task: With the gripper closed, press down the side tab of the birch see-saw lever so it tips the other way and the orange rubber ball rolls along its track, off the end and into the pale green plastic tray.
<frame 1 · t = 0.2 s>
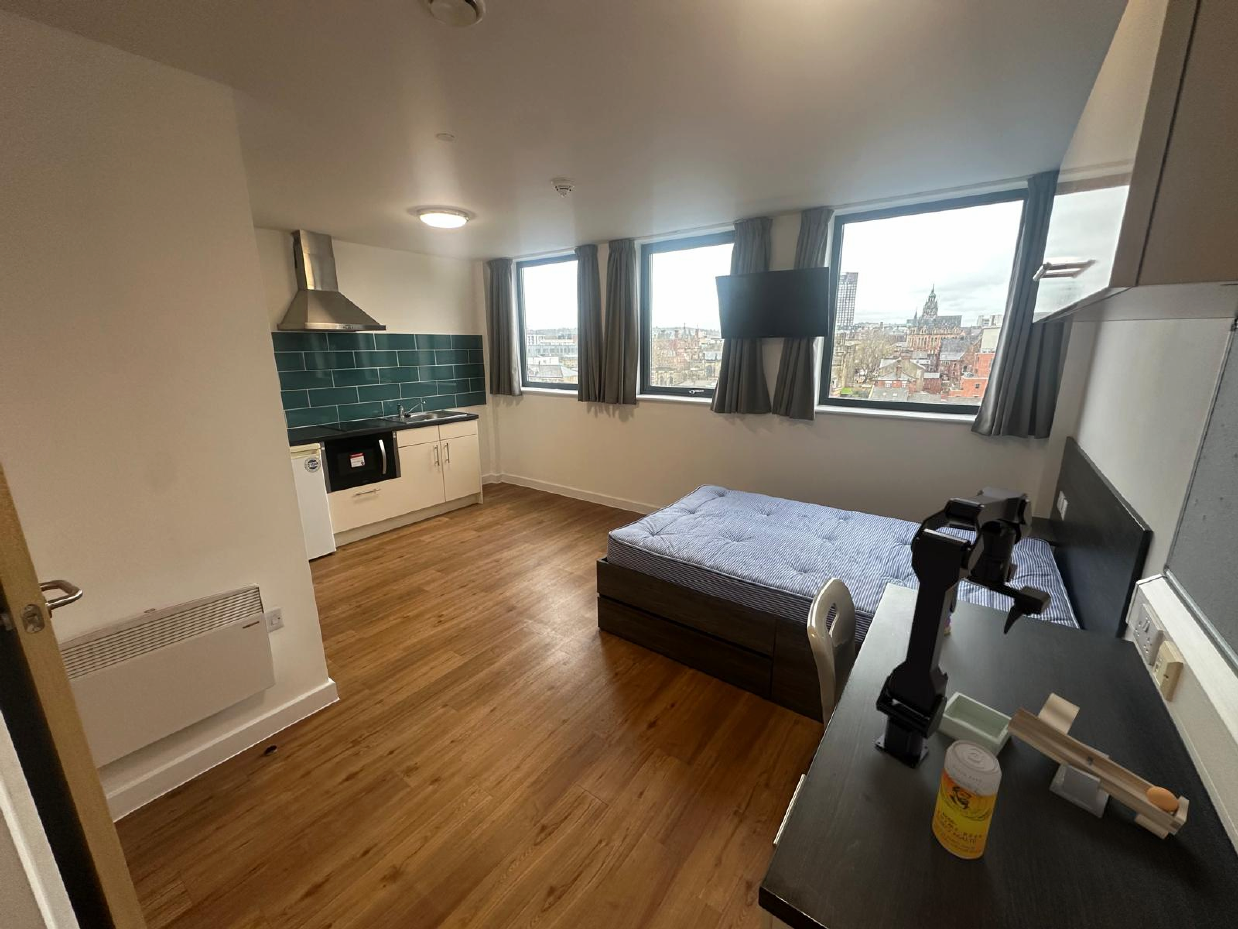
hand: (978, 622, 97), 14 cm above the table, fingers open, 9 cm apart
silver support block: (1080, 789, 77), on the table
stacking toy: (931, 627, 120), on the table
tray: (972, 732, 88), on the table
lever: (1094, 747, 79), point 5 cm above the table, hinge at 9.0°, touching ball
ball: (1162, 799, 69), point 5 cm above the table, tilted 24°, touching lever
beer can: (956, 842, 69), on the table
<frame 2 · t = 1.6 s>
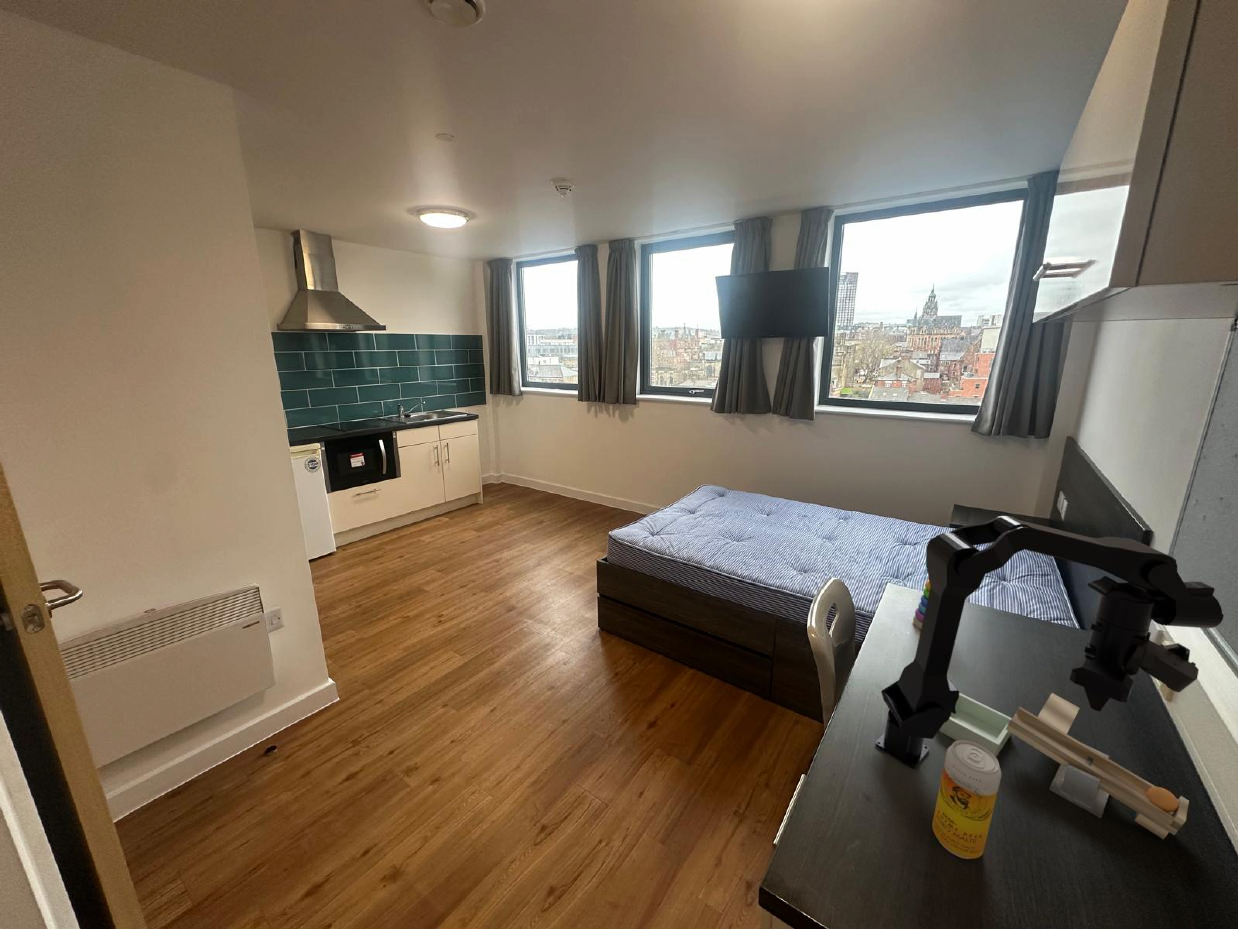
hand: (1097, 705, 78), 12 cm above the table, fingers open, 3 cm apart
nothing on the table moved.
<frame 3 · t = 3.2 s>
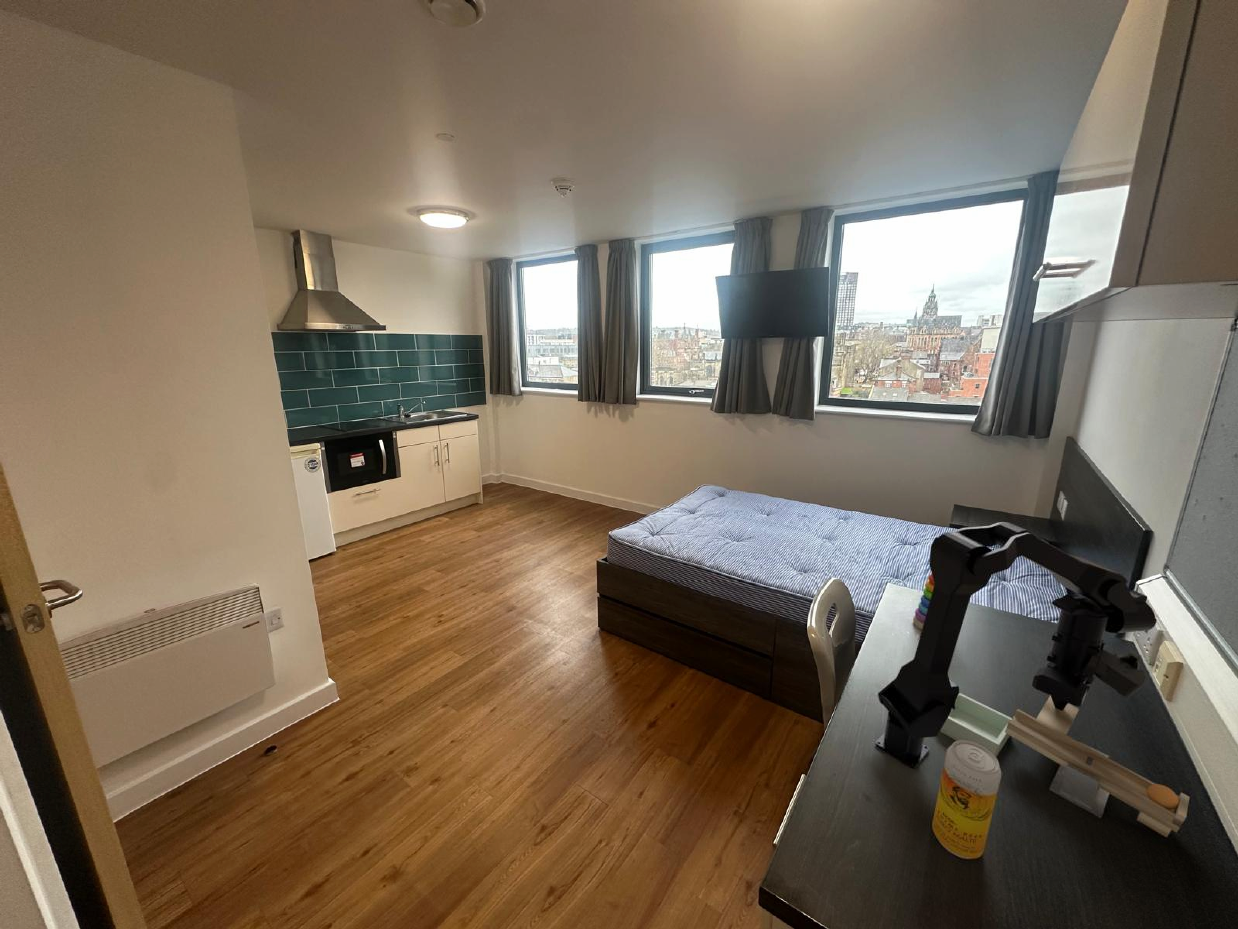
hand: (1059, 708, 86), 6 cm above the table, fingers closed, pressing on lever
lever: (1094, 747, 79), point 5 cm above the table, hinge at 5.6°, touching ball, gripper
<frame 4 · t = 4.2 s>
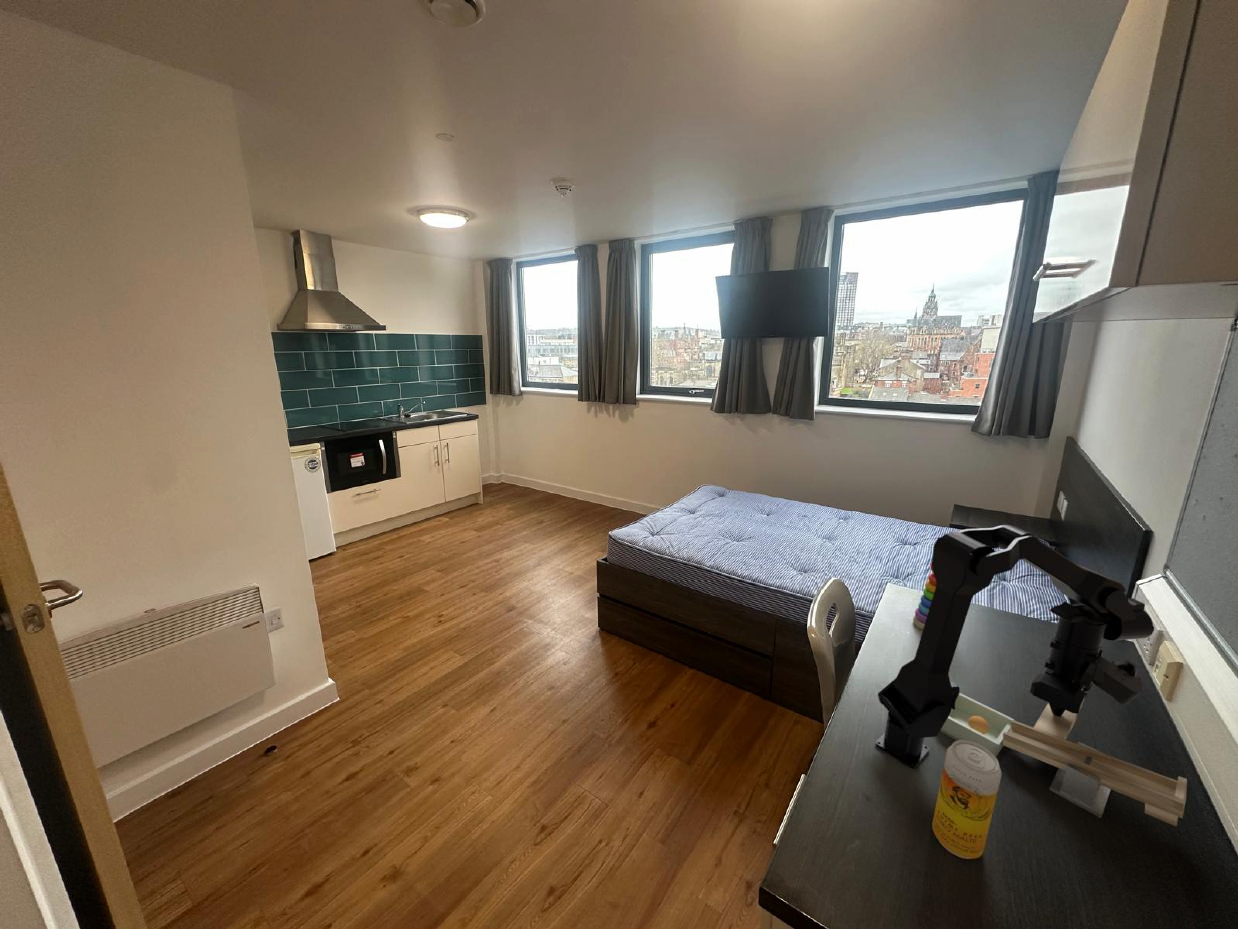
hand: (1056, 715, 87), 4 cm above the table, fingers closed, pressing on lever
lever: (1094, 747, 79), point 5 cm above the table, hinge at -9.1°, touching gripper
ball: (978, 725, 87), point 2 cm above the table, tilted 102°
everything else where it was.
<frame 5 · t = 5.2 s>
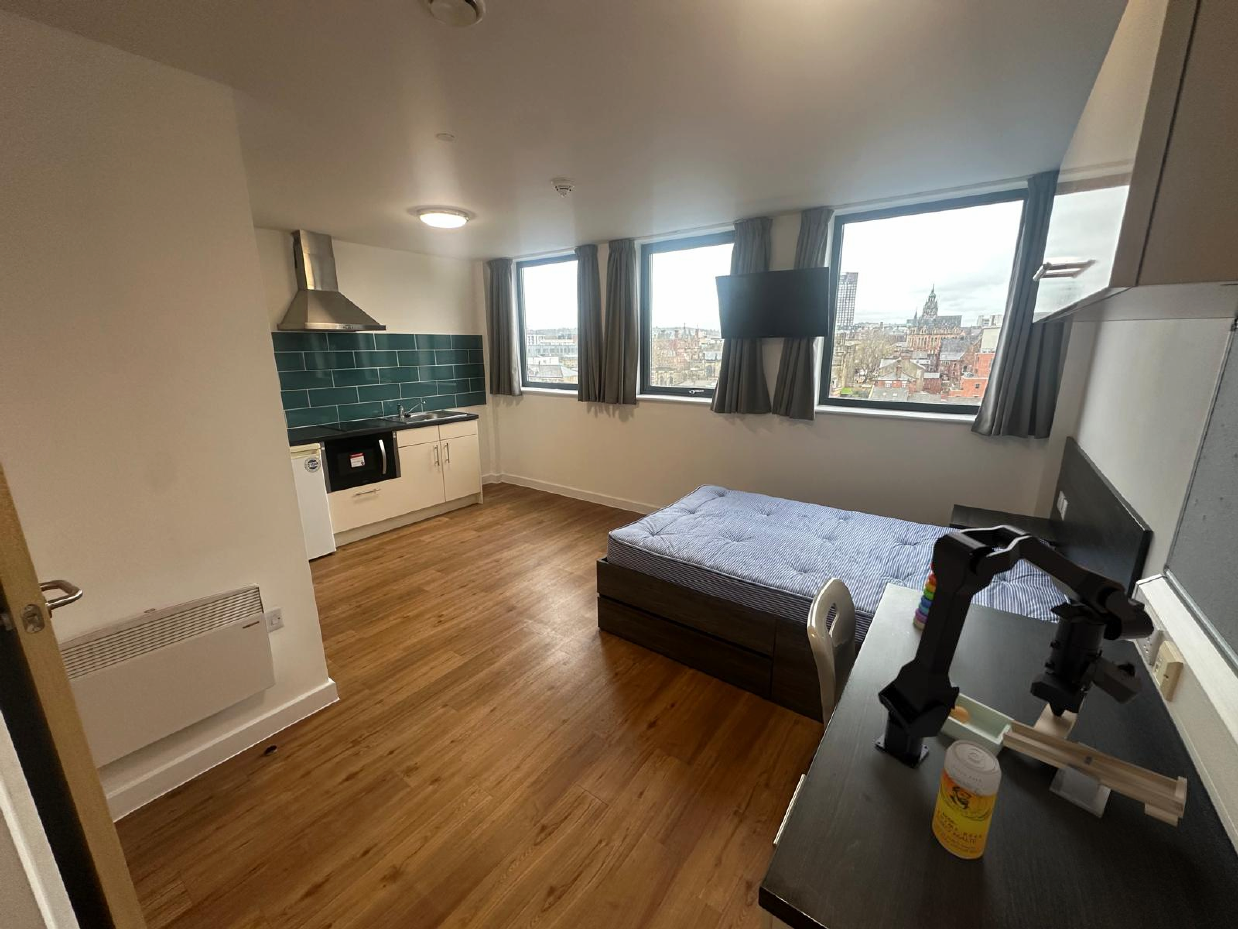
hand: (1056, 715, 87), 4 cm above the table, fingers closed, pressing on lever
lever: (1094, 747, 79), point 5 cm above the table, hinge at -9.2°, touching gripper
ball: (959, 715, 89), point 2 cm above the table, tilted 118°, touching tray
everything else where it was.
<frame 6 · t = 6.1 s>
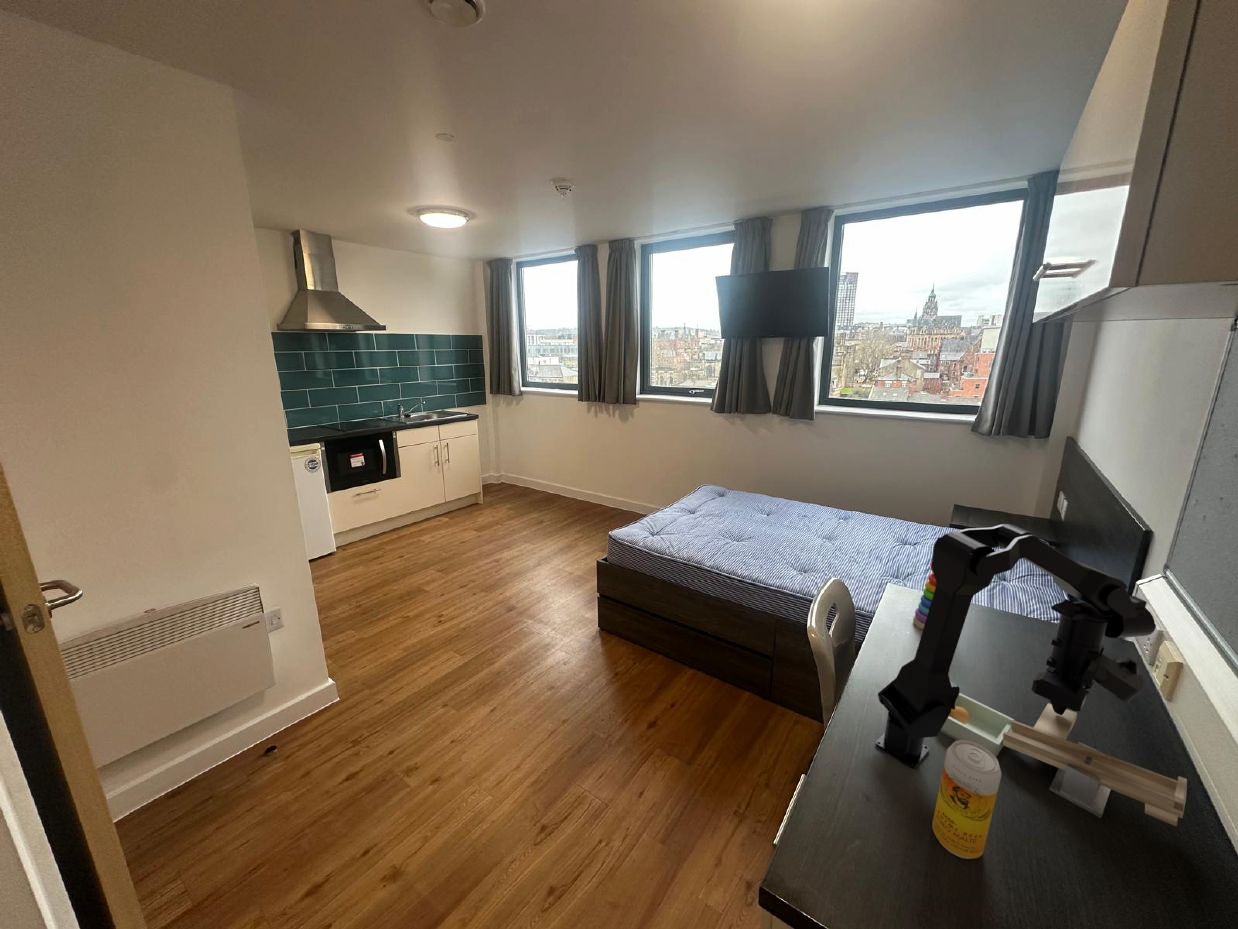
hand: (1058, 713, 86), 5 cm above the table, fingers closed
lever: (1094, 747, 79), point 5 cm above the table, hinge at -9.2°
everything else where it was.
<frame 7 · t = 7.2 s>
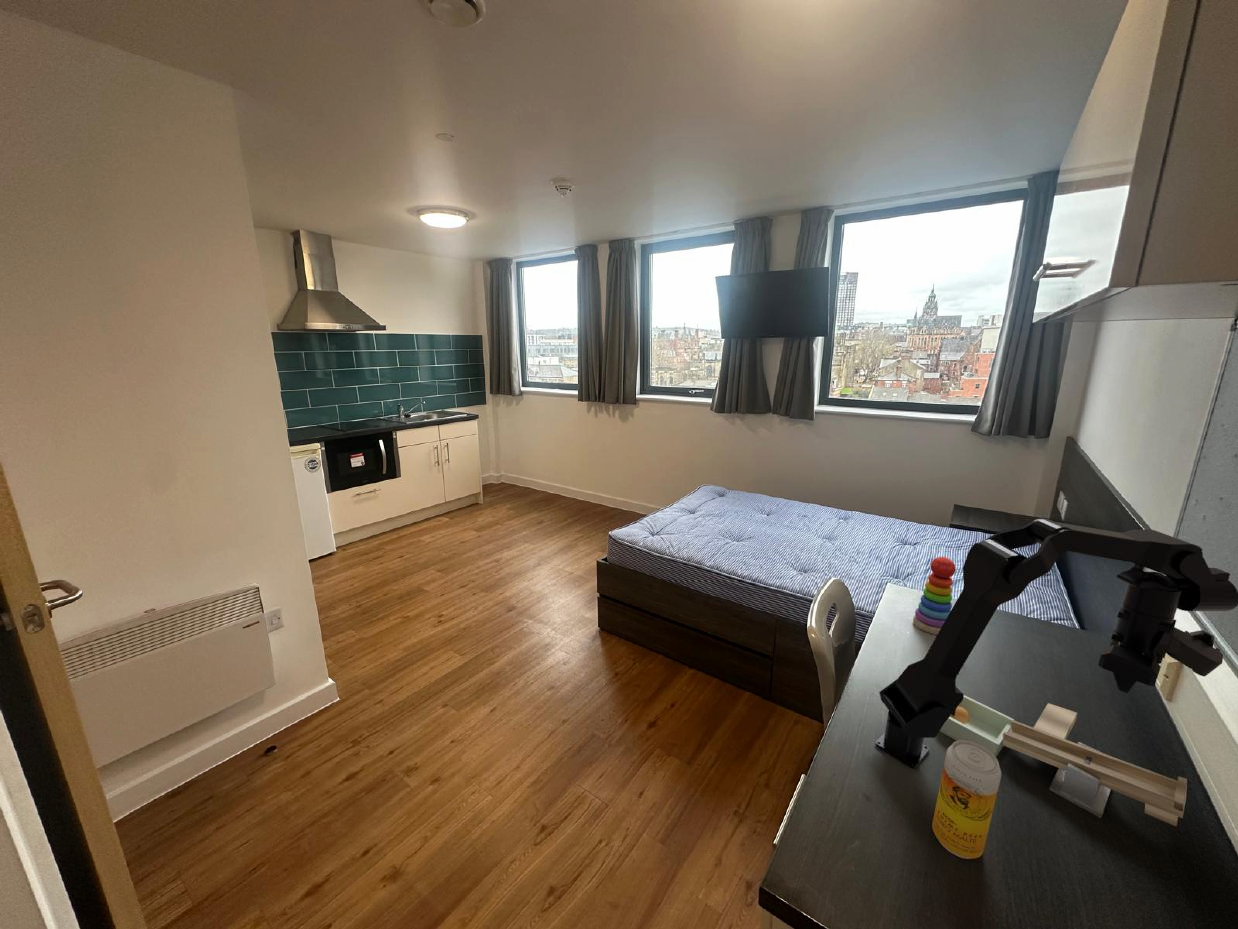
hand: (1123, 691, 81), 12 cm above the table, fingers closed
nothing on the table moved.
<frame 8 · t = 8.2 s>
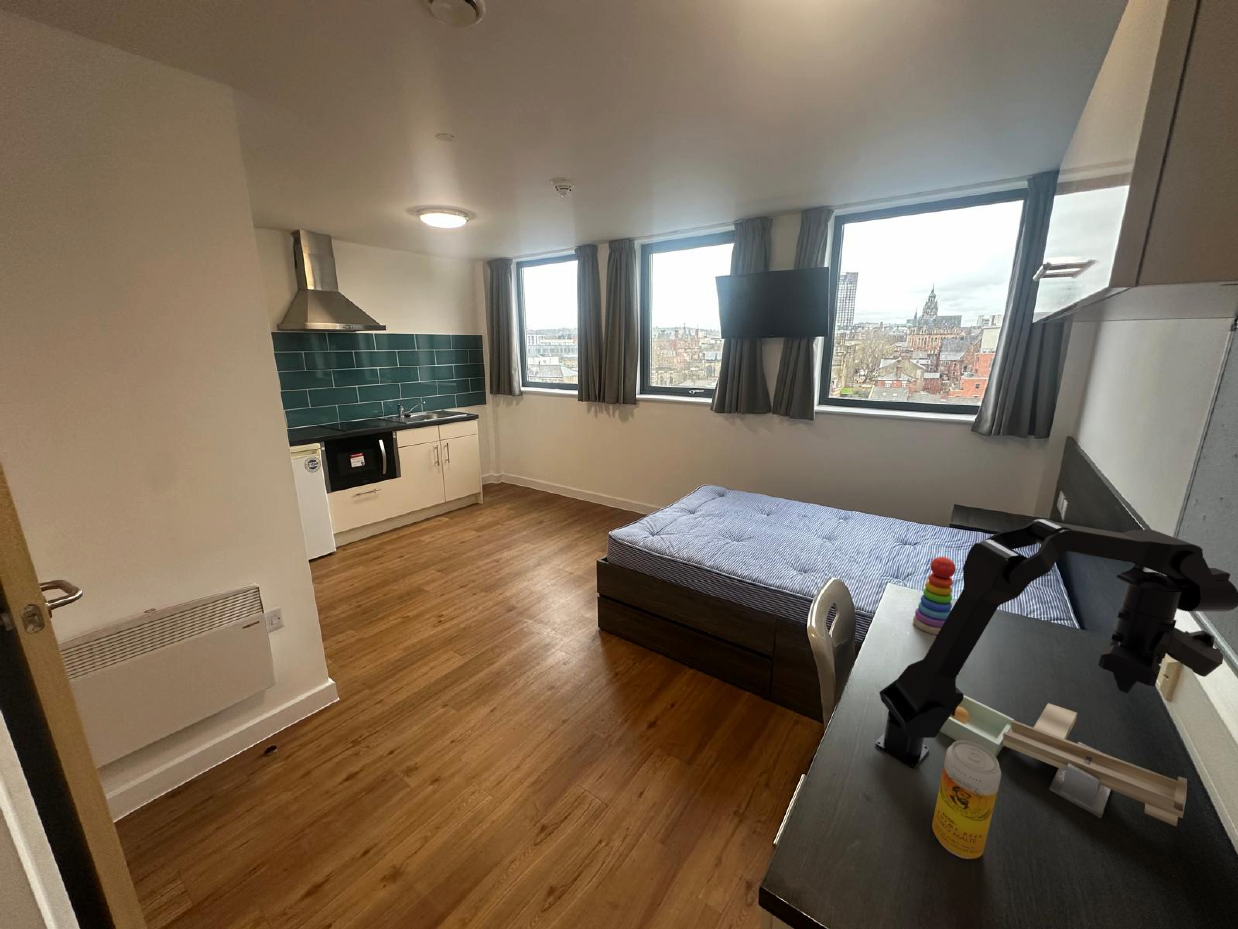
hand: (1123, 691, 81), 12 cm above the table, fingers closed
nothing on the table moved.
at the end: ball inside the target area on the tray (2.3 cm from its centre), point 2.0 cm above the tray's base; lever at -9° (first picture: +9°) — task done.
